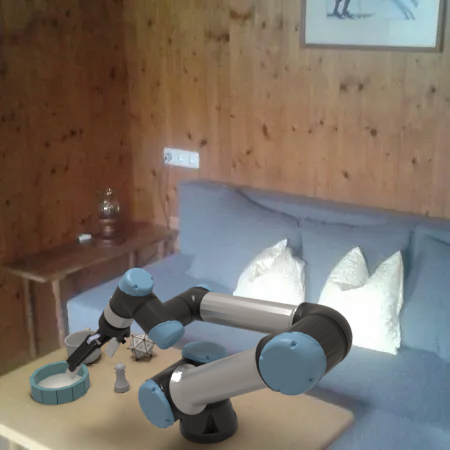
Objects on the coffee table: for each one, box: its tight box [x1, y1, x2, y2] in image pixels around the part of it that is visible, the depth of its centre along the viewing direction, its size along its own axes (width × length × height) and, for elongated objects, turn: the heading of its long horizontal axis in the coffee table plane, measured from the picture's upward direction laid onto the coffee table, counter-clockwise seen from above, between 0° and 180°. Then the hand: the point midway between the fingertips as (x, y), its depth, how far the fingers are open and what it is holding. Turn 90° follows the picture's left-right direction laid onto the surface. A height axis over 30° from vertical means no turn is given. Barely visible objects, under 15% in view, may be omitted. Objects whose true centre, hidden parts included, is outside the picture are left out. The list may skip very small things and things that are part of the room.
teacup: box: [64, 327, 102, 365], centre depth 210 cm, size 14×11×8 cm
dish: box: [28, 360, 91, 406], centre depth 193 cm, size 16×16×4 cm
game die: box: [126, 332, 156, 362], centre depth 209 cm, size 9×8×10 cm
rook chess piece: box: [113, 361, 130, 393], centre depth 191 cm, size 4×4×8 cm
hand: (89, 364), depth 176 cm, fingers open, 13 cm apart
